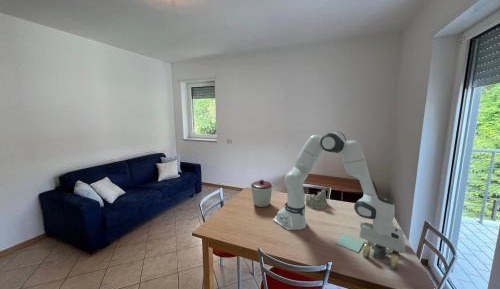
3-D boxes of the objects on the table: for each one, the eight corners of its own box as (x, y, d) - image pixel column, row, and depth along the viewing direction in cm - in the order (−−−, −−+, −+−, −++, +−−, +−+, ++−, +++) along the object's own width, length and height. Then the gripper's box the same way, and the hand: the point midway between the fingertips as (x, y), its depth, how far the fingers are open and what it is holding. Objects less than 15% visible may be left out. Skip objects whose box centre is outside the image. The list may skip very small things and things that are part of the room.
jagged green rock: (330, 203, 170) (329, 185, 168) (322, 212, 158) (321, 193, 155) (311, 199, 180) (310, 183, 177) (303, 207, 167) (302, 189, 165)
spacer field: (360, 256, 110) (361, 244, 109) (368, 241, 121) (369, 230, 120) (396, 271, 99) (398, 258, 98) (401, 254, 111) (403, 242, 109)
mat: (335, 243, 120) (335, 242, 120) (342, 234, 129) (342, 233, 129) (358, 253, 112) (358, 252, 112) (364, 242, 121) (364, 241, 121)
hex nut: (384, 259, 107) (384, 251, 106) (373, 255, 110) (373, 247, 109) (386, 253, 111) (387, 246, 110) (375, 249, 114) (376, 242, 114)
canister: (269, 211, 159) (269, 184, 156) (247, 207, 166) (246, 182, 162) (275, 201, 176) (275, 177, 172) (255, 198, 183) (254, 175, 179)
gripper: (358, 223, 113) (357, 246, 115) (405, 238, 99) (402, 264, 101) (362, 218, 117) (360, 240, 120) (407, 232, 103) (404, 257, 106)
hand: (380, 251), depth 110 cm, fingers closed on hex nut, 5 cm apart
